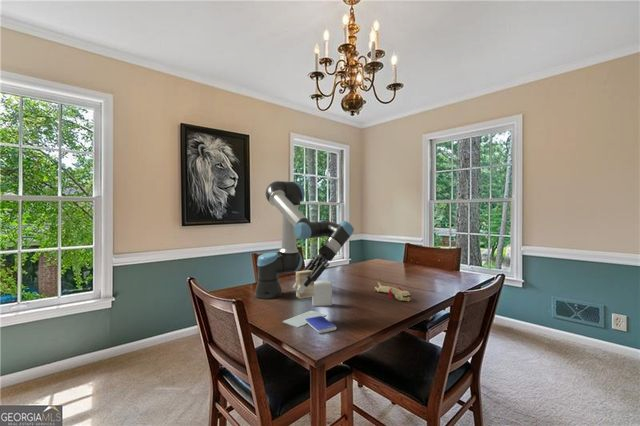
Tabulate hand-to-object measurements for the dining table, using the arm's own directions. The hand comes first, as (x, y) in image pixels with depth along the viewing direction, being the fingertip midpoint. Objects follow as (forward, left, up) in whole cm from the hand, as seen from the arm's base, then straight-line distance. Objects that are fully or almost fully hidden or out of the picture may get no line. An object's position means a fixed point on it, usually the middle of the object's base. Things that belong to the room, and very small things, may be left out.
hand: (297, 290), depth 131 cm
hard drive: (+12, +2, -14) cm, 18 cm away
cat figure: (+14, +58, -14) cm, 62 cm away
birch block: (+1, +4, -3) cm, 5 cm away
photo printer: (-6, +23, -14) cm, 27 cm away
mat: (+1, +4, -14) cm, 14 cm away
